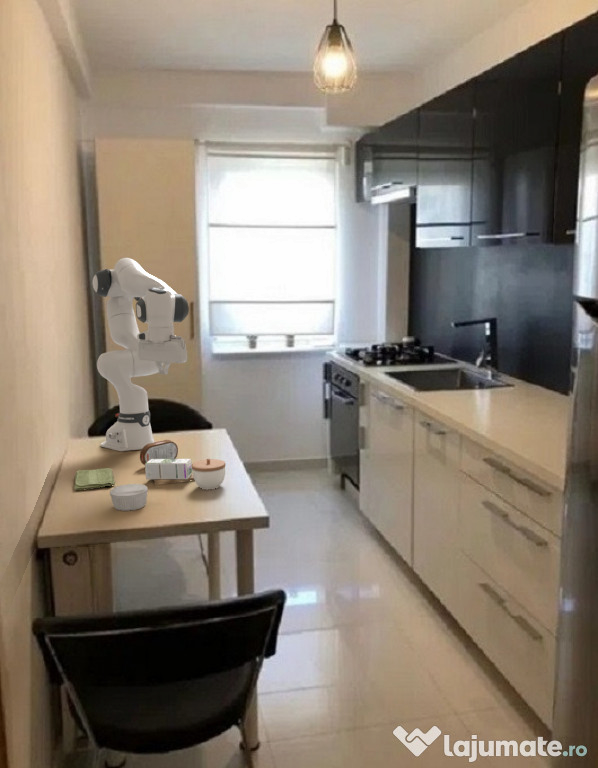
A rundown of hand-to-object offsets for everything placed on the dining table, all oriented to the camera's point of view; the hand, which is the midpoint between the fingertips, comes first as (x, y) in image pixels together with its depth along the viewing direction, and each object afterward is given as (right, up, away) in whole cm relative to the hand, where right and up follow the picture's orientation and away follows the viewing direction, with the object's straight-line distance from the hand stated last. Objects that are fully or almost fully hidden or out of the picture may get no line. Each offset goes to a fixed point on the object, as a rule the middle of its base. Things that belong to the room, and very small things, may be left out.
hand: (163, 374), depth 251 cm
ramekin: (-3, -40, -36) cm, 54 cm away
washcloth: (-21, -37, -10) cm, 44 cm away
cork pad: (+5, -35, -8) cm, 36 cm away
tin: (-3, -33, +8) cm, 34 cm away
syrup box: (-3, -32, -11) cm, 34 cm away
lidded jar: (+19, -37, -20) cm, 46 cm away
